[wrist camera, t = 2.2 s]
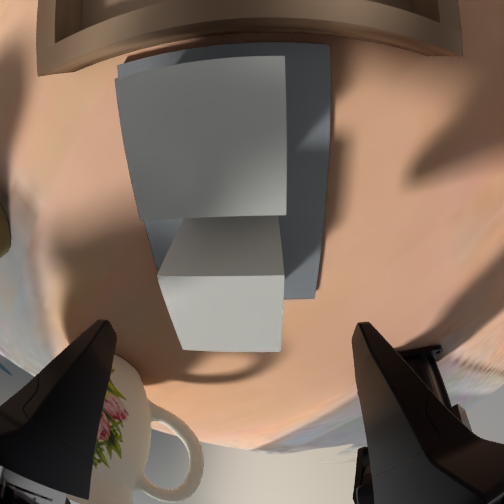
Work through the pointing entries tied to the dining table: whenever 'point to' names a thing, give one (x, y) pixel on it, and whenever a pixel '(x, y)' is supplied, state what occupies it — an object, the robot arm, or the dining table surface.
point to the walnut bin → (233, 25)
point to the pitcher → (134, 443)
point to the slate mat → (298, 152)
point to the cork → (4, 233)
